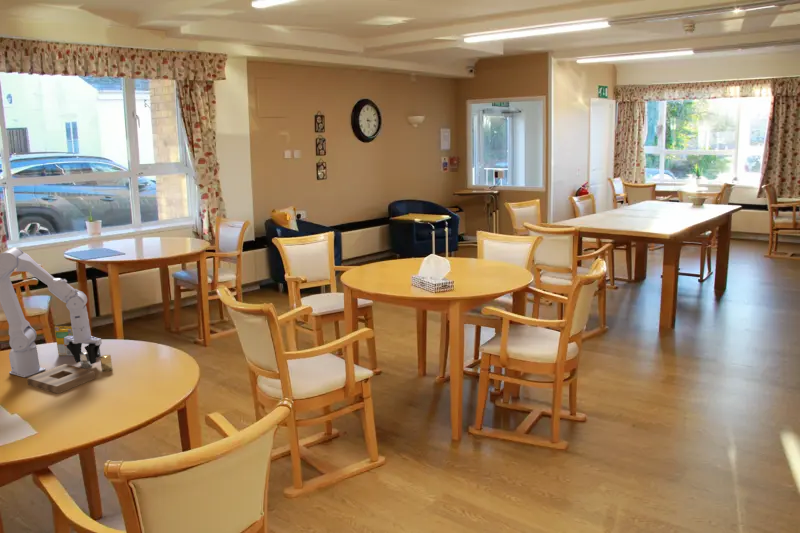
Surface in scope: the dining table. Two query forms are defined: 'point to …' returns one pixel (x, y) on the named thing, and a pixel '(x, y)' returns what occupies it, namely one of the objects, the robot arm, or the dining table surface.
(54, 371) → the socket board
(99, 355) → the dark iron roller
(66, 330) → the crayon box
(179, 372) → the dining table surface
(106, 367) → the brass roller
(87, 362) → the steel roller
